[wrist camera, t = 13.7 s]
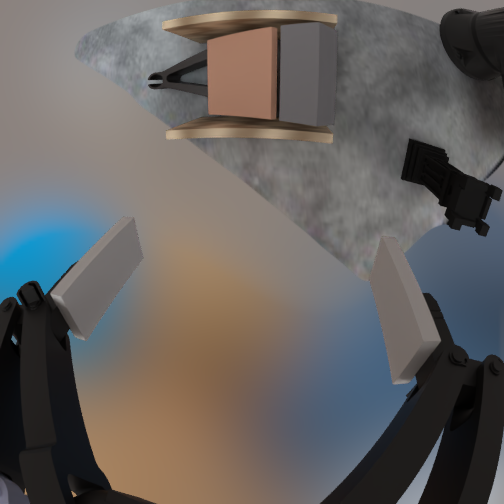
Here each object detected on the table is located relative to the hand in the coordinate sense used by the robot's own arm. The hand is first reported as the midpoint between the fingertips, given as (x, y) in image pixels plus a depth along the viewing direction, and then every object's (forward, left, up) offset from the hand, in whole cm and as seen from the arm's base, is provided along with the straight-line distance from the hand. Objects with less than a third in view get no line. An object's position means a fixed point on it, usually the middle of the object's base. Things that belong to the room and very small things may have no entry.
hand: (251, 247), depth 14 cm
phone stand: (+9, -11, -34) cm, 37 cm away
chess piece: (-27, +2, -37) cm, 46 cm away
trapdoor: (+1, -10, -27) cm, 28 cm away
